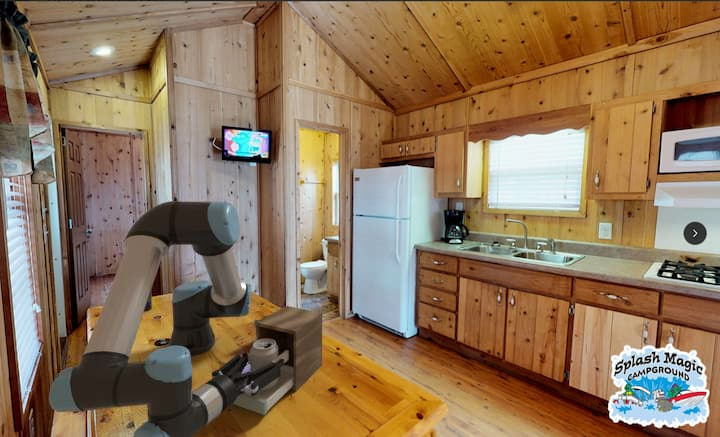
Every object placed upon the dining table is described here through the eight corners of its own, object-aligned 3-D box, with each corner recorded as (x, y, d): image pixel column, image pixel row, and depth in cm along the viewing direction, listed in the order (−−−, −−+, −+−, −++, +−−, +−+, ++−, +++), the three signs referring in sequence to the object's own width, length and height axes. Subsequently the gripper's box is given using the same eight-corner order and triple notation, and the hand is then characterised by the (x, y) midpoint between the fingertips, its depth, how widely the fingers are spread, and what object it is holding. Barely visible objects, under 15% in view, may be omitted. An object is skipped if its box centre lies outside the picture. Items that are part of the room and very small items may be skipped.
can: (270, 394, 84) (270, 351, 83) (245, 390, 85) (244, 347, 84) (282, 378, 91) (282, 338, 90) (259, 374, 92) (258, 335, 91)
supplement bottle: (148, 306, 152) (147, 281, 151) (154, 309, 148) (153, 284, 147) (131, 310, 147) (130, 285, 146) (137, 313, 143) (136, 288, 142)
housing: (257, 379, 96) (256, 322, 94) (286, 356, 109) (286, 305, 108) (296, 391, 90) (296, 331, 89) (321, 365, 104) (322, 312, 103)
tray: (226, 401, 84) (226, 390, 83) (269, 367, 100) (269, 358, 99) (264, 415, 79) (264, 403, 79) (303, 377, 95) (303, 367, 95)
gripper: (180, 402, 75) (248, 356, 96) (247, 428, 67) (305, 372, 88) (179, 372, 74) (248, 332, 96) (247, 395, 67) (305, 346, 88)
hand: (275, 351), depth 92 cm, fingers closed on can, 7 cm apart
